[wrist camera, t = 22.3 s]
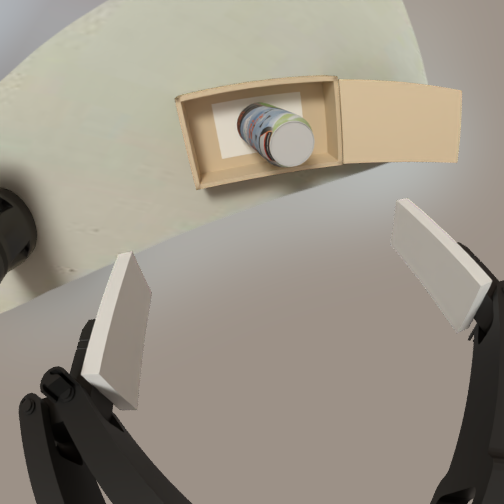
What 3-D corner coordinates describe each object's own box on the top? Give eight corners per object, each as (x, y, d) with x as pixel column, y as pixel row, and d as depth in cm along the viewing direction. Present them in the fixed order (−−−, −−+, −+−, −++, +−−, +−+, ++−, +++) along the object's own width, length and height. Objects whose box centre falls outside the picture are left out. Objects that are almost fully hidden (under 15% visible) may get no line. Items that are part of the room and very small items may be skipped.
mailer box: (197, 177, 40) (196, 190, 36) (178, 95, 33) (174, 98, 29) (330, 155, 41) (342, 164, 37) (324, 75, 33) (337, 76, 30)
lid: (457, 162, 34) (455, 161, 34) (461, 90, 27) (459, 90, 27) (343, 163, 36) (342, 162, 36) (339, 79, 29) (338, 79, 30)
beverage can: (234, 102, 34) (246, 114, 24) (289, 101, 35) (321, 113, 25) (236, 146, 38) (248, 176, 28) (289, 143, 38) (318, 172, 29)
